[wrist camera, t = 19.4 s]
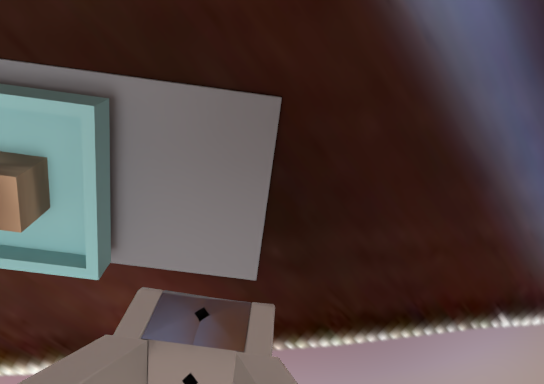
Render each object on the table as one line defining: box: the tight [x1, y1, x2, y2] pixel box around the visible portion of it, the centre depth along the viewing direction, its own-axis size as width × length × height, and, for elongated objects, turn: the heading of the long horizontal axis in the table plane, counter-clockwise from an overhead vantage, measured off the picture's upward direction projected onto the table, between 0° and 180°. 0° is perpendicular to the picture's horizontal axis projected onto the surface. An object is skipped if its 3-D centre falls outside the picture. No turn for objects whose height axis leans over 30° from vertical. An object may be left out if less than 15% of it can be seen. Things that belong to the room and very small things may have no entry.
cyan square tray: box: [0, 84, 111, 280], centre depth 36 cm, size 14×15×5 cm
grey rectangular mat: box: [0, 58, 282, 280], centre depth 39 cm, size 32×18×1 cm, turn 82°
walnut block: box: [0, 151, 50, 233], centre depth 34 cm, size 4×4×4 cm
